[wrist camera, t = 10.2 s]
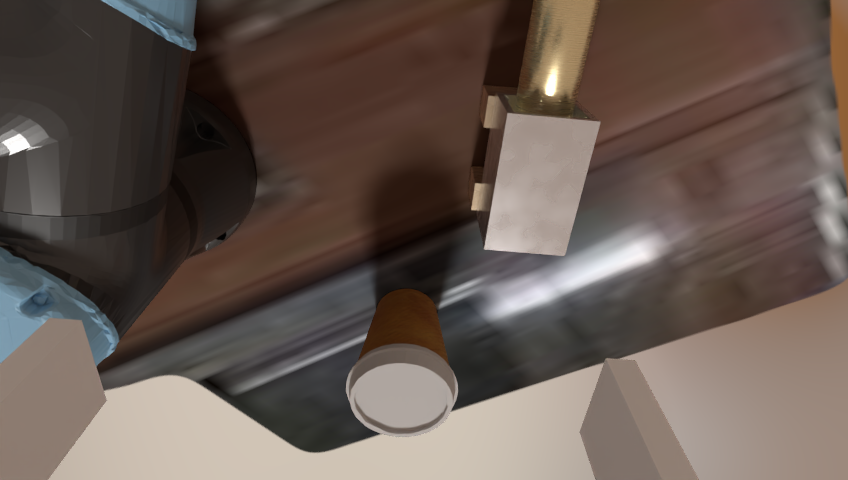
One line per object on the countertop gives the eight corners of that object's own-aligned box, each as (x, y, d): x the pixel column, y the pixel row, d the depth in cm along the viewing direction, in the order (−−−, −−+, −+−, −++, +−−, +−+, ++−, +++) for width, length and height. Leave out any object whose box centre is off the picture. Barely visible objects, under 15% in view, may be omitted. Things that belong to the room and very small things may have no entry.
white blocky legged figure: (467, 193, 45) (477, 248, 36) (483, 80, 40) (499, 112, 31) (543, 200, 45) (571, 256, 36) (568, 89, 40) (608, 122, 31)
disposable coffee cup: (344, 294, 50) (322, 380, 40) (429, 261, 48) (430, 343, 38) (386, 359, 54) (376, 452, 44) (466, 331, 52) (476, 422, 42)
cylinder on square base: (493, 158, 39) (503, 186, 34) (547, -164, 29) (571, -191, 24) (553, 163, 39) (571, 192, 34) (626, -155, 29) (667, -180, 24)
